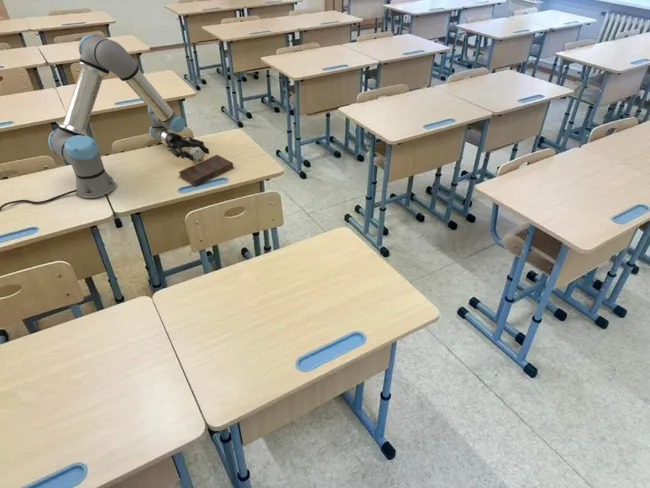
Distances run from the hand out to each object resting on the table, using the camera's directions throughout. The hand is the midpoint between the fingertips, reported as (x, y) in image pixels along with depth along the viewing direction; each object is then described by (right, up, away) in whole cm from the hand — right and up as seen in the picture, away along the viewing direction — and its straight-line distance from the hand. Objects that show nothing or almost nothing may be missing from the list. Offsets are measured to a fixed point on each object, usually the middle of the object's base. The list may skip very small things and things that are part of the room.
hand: (200, 154), depth 213 cm
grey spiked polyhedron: (-3, -2, +7) cm, 8 cm away
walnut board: (+3, -8, 0) cm, 9 cm away
